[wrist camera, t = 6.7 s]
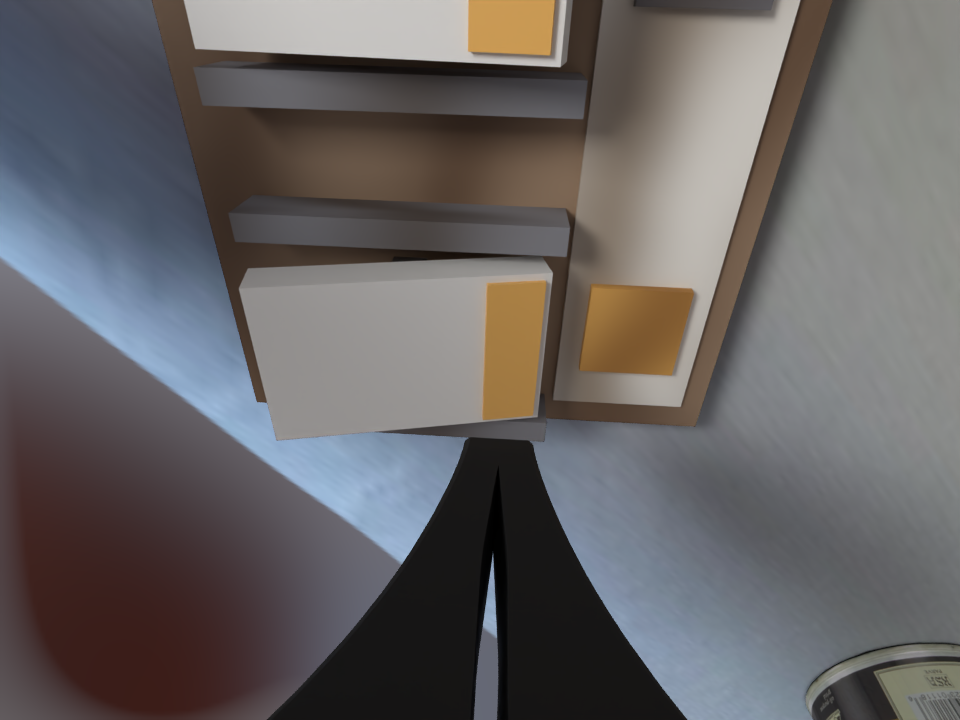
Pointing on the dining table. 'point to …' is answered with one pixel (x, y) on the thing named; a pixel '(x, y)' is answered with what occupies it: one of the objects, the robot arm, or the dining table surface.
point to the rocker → (398, 343)
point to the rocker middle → (389, 29)
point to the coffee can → (891, 685)
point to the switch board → (522, 180)
